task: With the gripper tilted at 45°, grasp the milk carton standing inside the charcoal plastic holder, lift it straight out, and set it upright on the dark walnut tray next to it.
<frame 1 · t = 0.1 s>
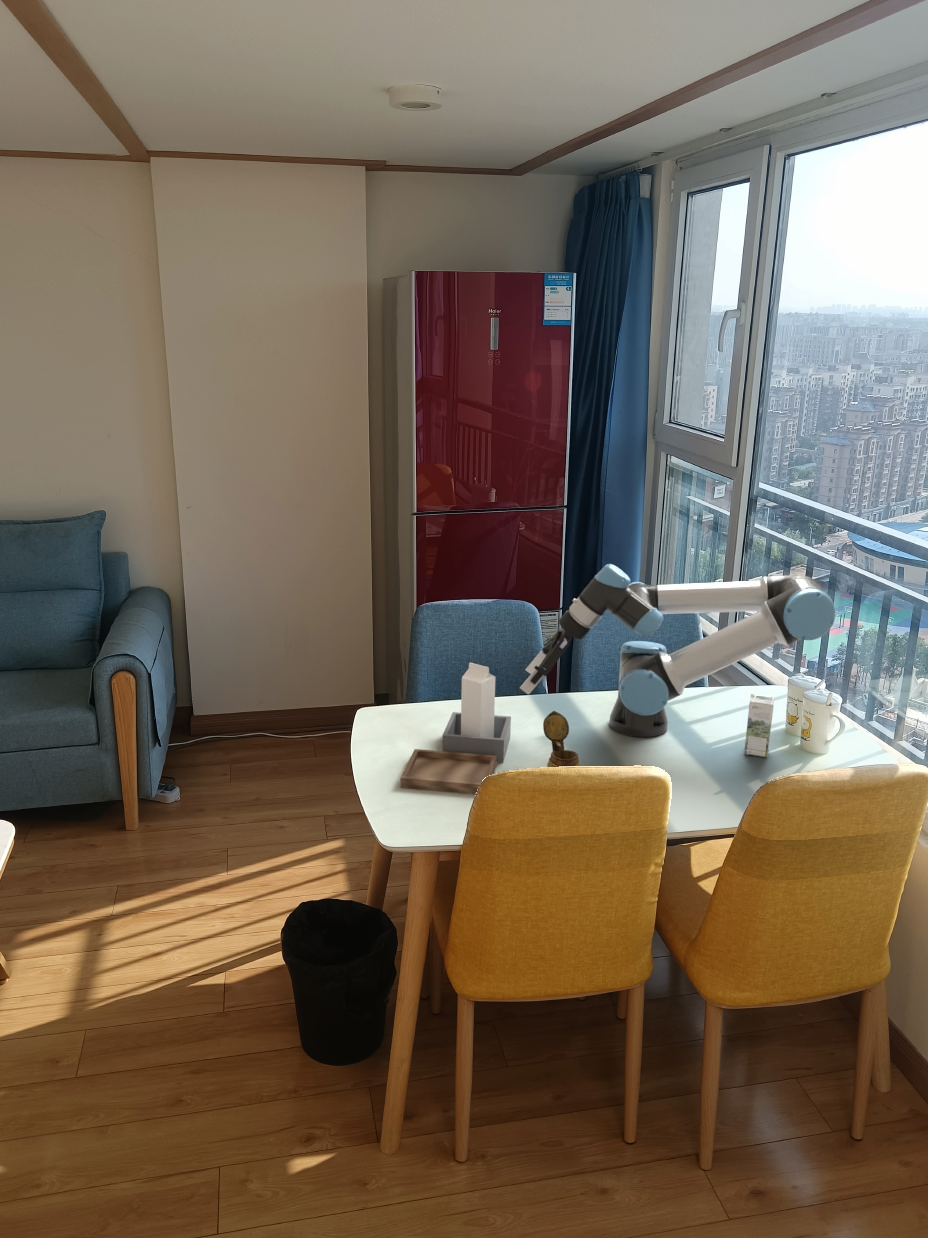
hand: (526, 681, 246), 15 cm above the table, tool tilted 35°, fingers open, 13 cm apart
syrup box: (756, 753, 244), on the table
tray: (449, 776, 229), on the table
holder: (477, 748, 244), on the table
milk: (477, 748, 244), resting in holder
wooden mug: (559, 796, 220), on the table
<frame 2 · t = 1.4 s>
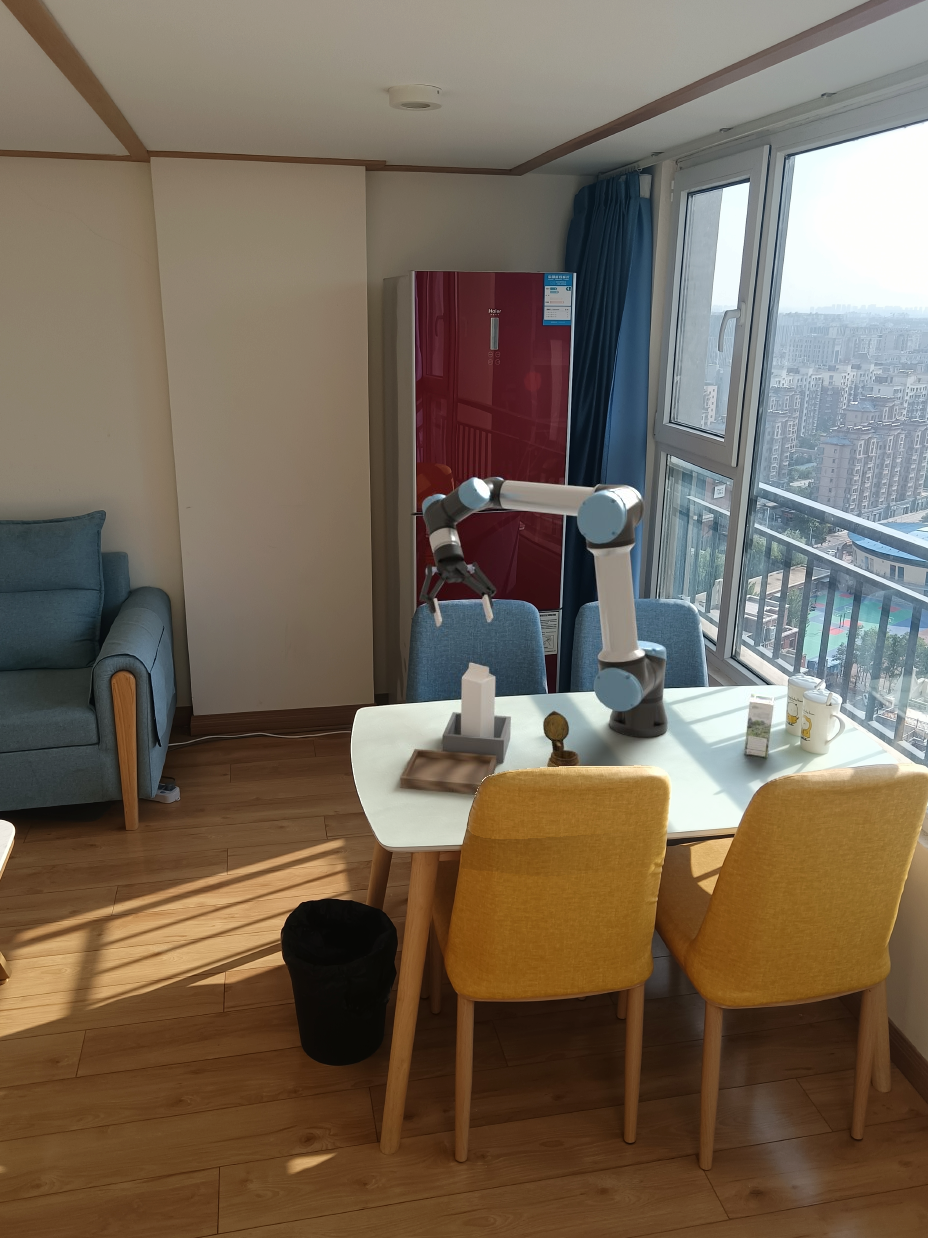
hand: (465, 621, 245), 30 cm above the table, tool tilted 45°, fingers open, 13 cm apart
nothing on the table moved.
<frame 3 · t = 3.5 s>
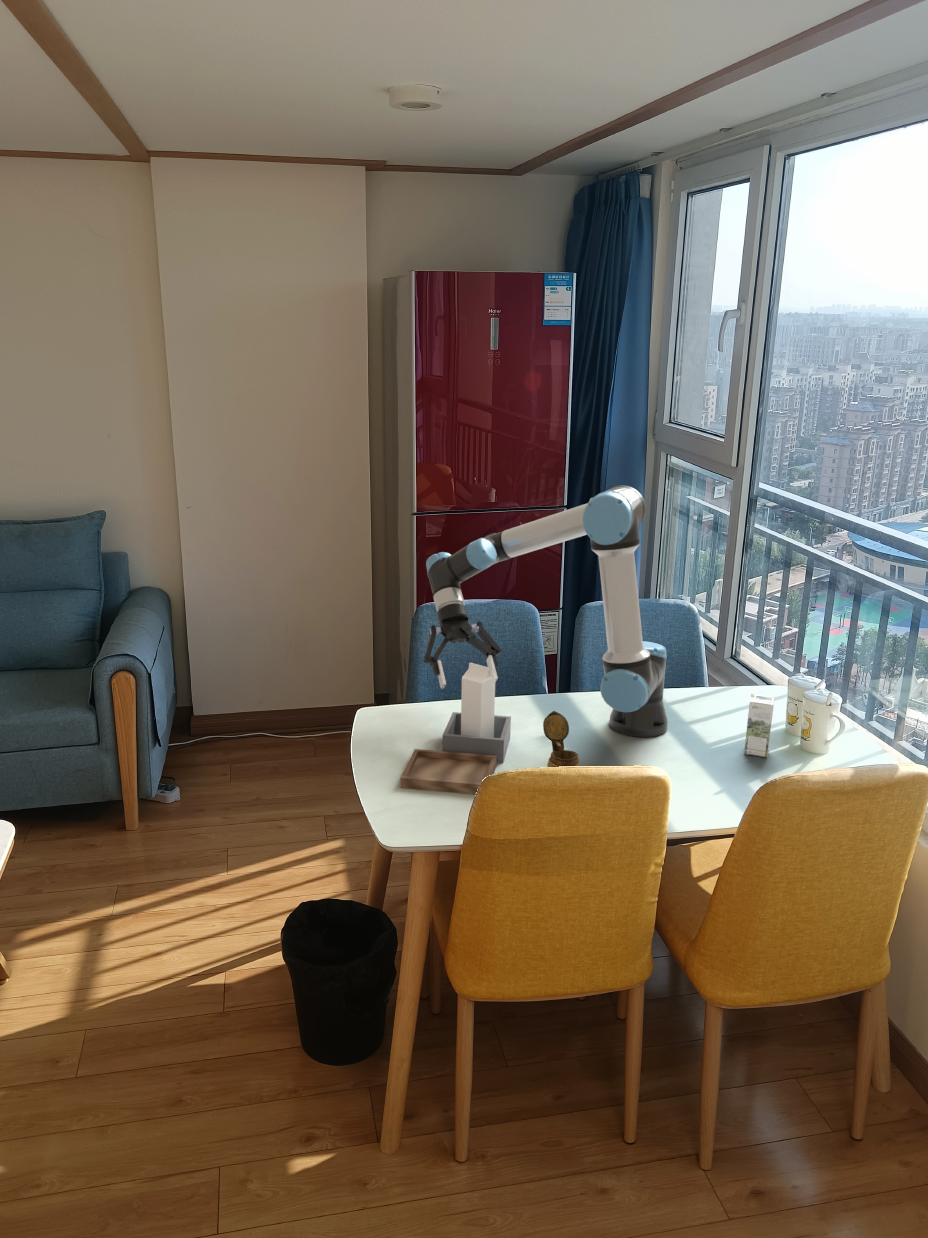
hand: (469, 683, 243), 16 cm above the table, tool tilted 45°, fingers open, 13 cm apart
nothing on the table moved.
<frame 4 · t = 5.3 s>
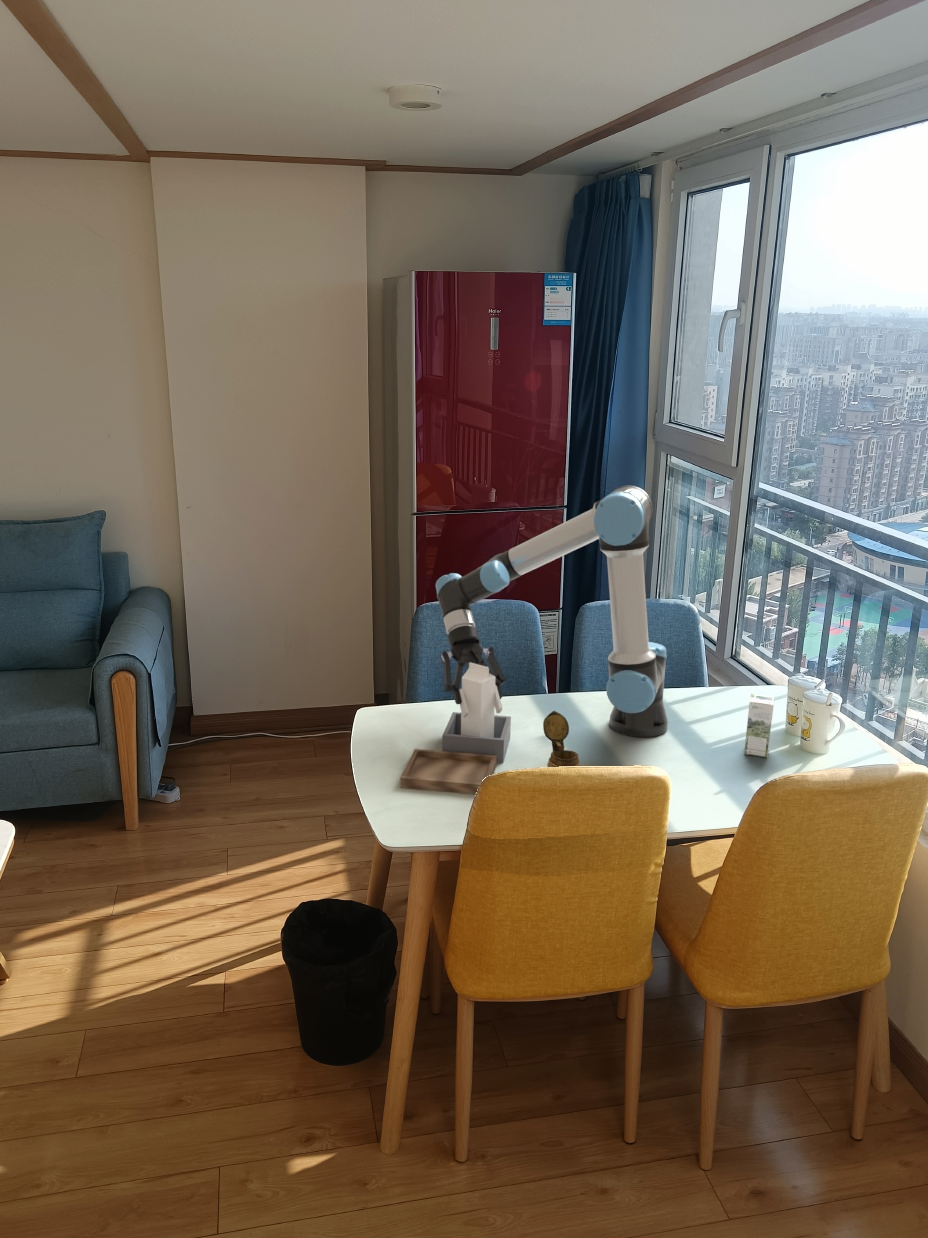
hand: (482, 713, 238), 11 cm above the table, tool tilted 45°, fingers closed on milk, 8 cm apart
milk: (477, 748, 244), resting in holder, touching gripper
everything else where it was.
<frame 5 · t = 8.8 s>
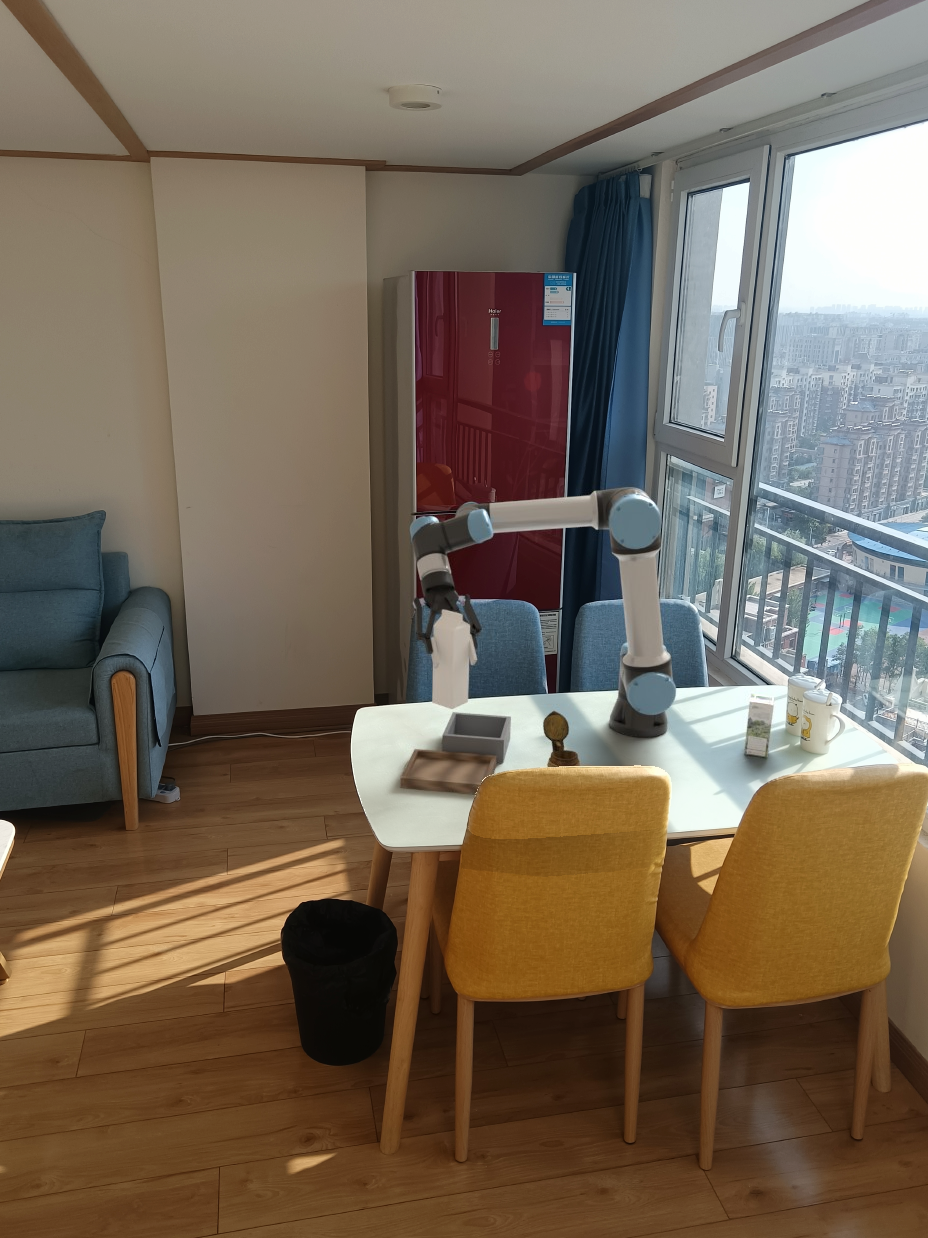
hand: (455, 664, 220), 28 cm above the table, tool tilted 45°, fingers closed on milk, 8 cm apart
milk: (450, 703, 227), point 17 cm above the table, touching gripper
everything else where it was.
when the fingers open (13 cm above the table, at t = 12.3 s): milk drops 1 cm, resting on tray.
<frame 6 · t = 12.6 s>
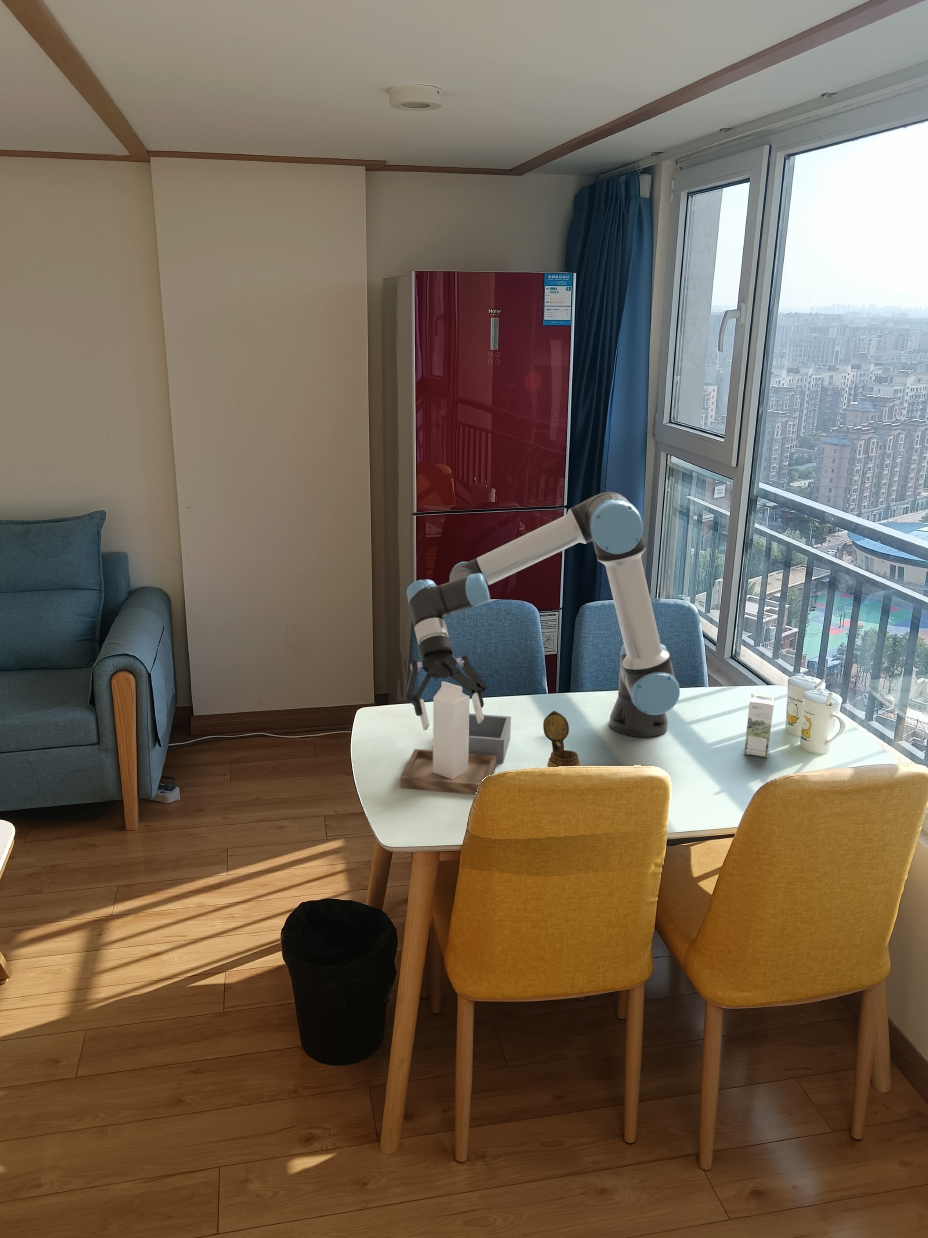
hand: (454, 724, 222), 14 cm above the table, tool tilted 45°, fingers open, 12 cm apart
milk: (450, 772, 228), point 1 cm above the table, touching tray
everything else where it was.
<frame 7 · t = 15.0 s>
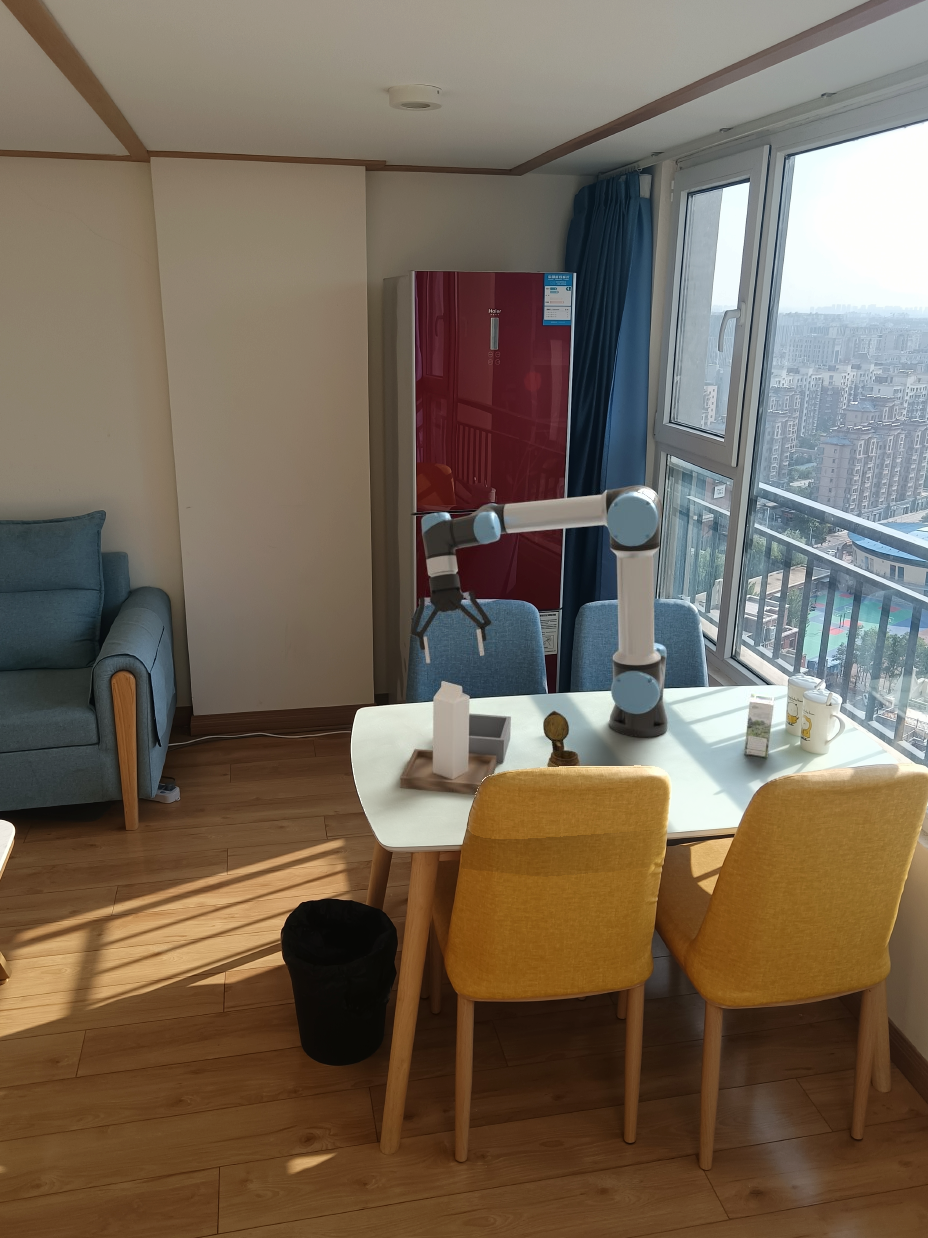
hand: (455, 659, 243), 21 cm above the table, tool tilted 20°, fingers open, 13 cm apart
nothing on the table moved.
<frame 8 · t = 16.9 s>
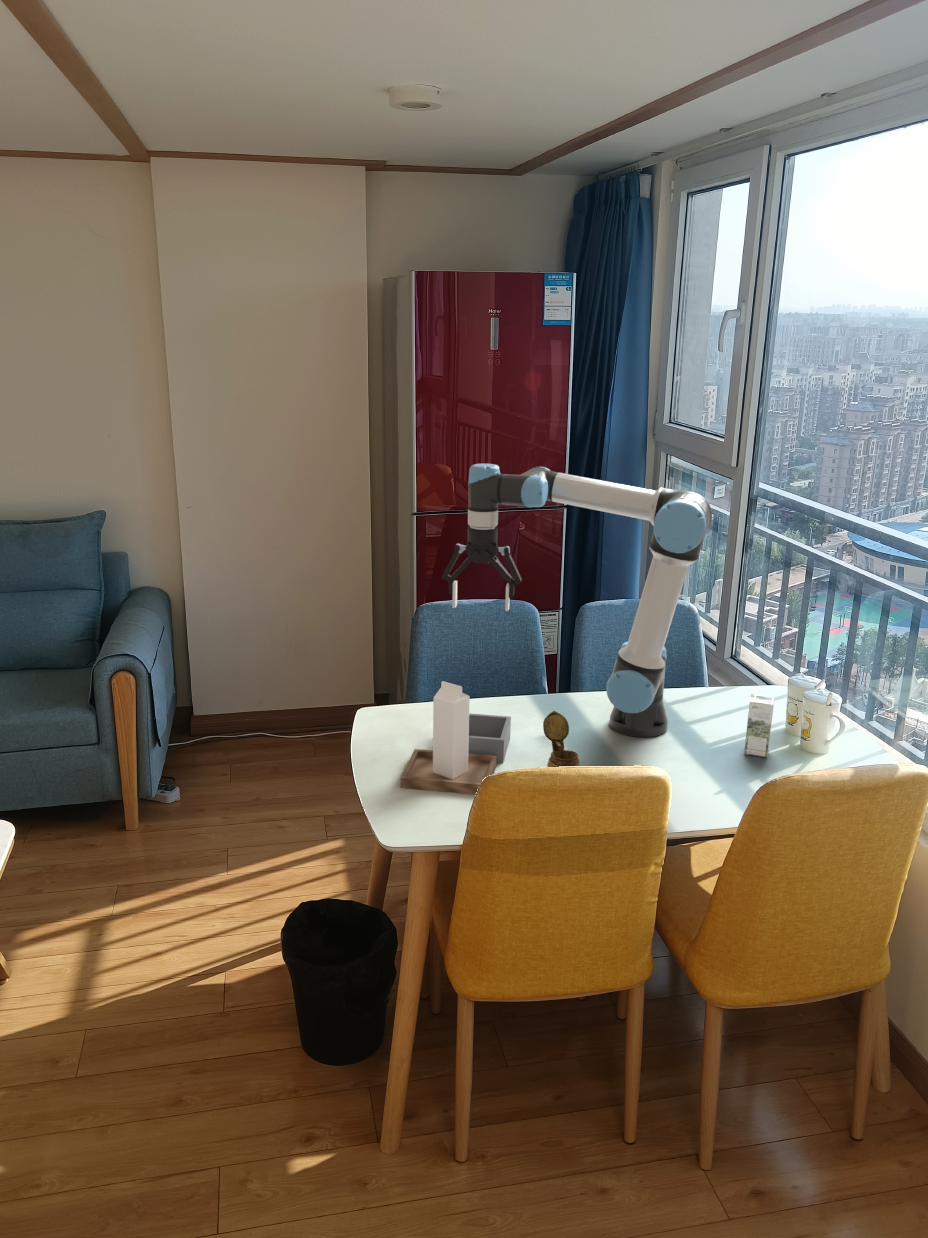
hand: (480, 608, 250), 32 cm above the table, tool pointing down, fingers open, 13 cm apart
nothing on the table moved.
at the end: milk inside the target area on the tray (0.3 cm from its centre), point 0.8 cm above the tray's base; milk tilted 0°; the gripper is holding nothing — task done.
